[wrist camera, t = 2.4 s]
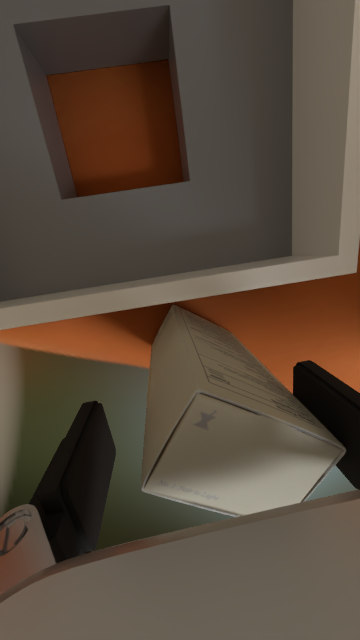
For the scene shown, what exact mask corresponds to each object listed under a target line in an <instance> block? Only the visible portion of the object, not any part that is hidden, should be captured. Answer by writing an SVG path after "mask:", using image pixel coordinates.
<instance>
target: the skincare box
mask: <svg viewBox="0 0 360 640" xmlns="http://www.w3.org/2000/svg"><path fill="white" fill-rule="evenodd" d="M345 453H346V449H345V447H344V446H343V445H342V444H341V443H340V442H339V441H338V440H337V439H336V438H335V437H334V436H333V435H332V434H331V433H330V432H329V430H328V429H327V428H326V427H325V426H324V425H322V424H321V423H320V422H319V421H318V419H317V418H316V417H315V416H314V415H313V414H312V413H311V412H310V411H309V410H308V409H307V408H306V407H305V406H304V405H303V404H302V403H301V402H300V401H299V400H298V399H297V398H296V397H295V396H294V395H293V394H292V393H291V392H290V391H289V390H288V389H287V388H286V387H285V386H284V385H283V384H282V383H281V382H280V381H279V380H278V379H277V378H276V377H275V376H274V375H273V374H272V373H271V372H270V371H269V370H268V369H267V368H266V367H265V366H264V365H263V364H262V363H261V362H260V361H259V360H258V359H257V358H256V357H255V356H254V355H253V354H252V353H251V352H250V351H249V350H248V349H247V348H246V347H245V346H244V345H243V344H242V343H241V342H240V341H239V340H238V339H237V338H236V337H235V336H234V335H233V334H232V333H231V332H229V331H227V330H225V329H223V328H221V327H220V326H218V325H216V324H214V323H212V322H210V321H208V320H206V319H203V318H201V317H199V316H197V315H195V314H193V313H191V312H189V311H187V310H185V309H182V308H180V307H178V306H176V305H172V306H171V308H170V310H169V312H168V314H167V316H166V318H165V320H164V321H163V323H162V325H161V327H160V329H159V331H158V333H157V335H156V338H155V340H154V342H153V344H152V349H151V359H150V372H149V383H148V395H147V408H146V421H145V435H144V448H143V462H142V475H141V489H142V491H143V492H146V493H150V494H154V495H156V496H160V497H163V498H166V499H170V500H174V501H178V502H181V503H185V504H188V505H192V506H196V507H199V508H204V509H207V510H210V511H215V512H219V513H222V514H225V515H230V516H234V517H239V516H244V515H248V514H252V513H257V512H261V511H266V510H270V509H274V508H279V507H283V506H288V505H292V504H296V503H301V502H305V500H306V499H307V498H308V497H309V496H310V495H311V494H312V492H313V491H314V489H316V487H317V486H318V485H319V484H320V483H321V482H322V480H323V479H324V478H325V477H326V475H327V474H328V473H329V472H330V471H331V469H332V468H333V467H334V466H335V465H336V464H337V463H338V461H339V460H340V459H341V458H342V457H343V456H344V454H345Z"/></svg>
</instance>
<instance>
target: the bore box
mask: <svg viewBox="0 0 360 640" xmlns="http://www.w3.org/2000/svg"><path fill="white" fill-rule="evenodd" d="M167 59H168V60H169V68H170V76H171V84H172V92H173V100H174V108H175V116H176V124H177V132H178V140H179V148H180V156H181V164H182V172H183V180H184V182H180V183H173V184H166V185H160V186H153V187H146V188H139V189H132V190H125V191H118V192H112V193H105V194H98V195H91V196H84V197H77V194H76V190H75V186H74V182H73V178H72V174H71V170H70V167H69V163H68V159H67V155H66V151H65V147H64V143H63V139H62V135H61V131H60V128H59V124H58V120H57V116H56V112H55V108H54V104H53V100H52V96H51V92H50V88H49V85H48V81H47V77H46V75H52V74H60V73H68V72H75V71H83V70H90V69H98V68H106V67H113V66H121V65H129V64H136V63H144V62H151V61H159V60H167ZM359 240H360V0H0V330H3V329H9V328H15V327H21V326H28V325H34V324H40V323H46V322H52V321H59V320H65V319H71V318H77V317H84V316H90V315H96V314H102V313H109V312H115V311H121V310H127V309H134V308H140V307H146V306H152V305H158V304H165V303H171V302H177V301H183V300H190V299H196V298H202V297H208V296H215V295H221V294H227V293H233V292H239V291H246V290H252V289H258V288H264V287H271V286H277V285H283V284H289V283H296V282H302V281H308V280H314V279H321V278H327V277H333V276H339V275H345V274H352V273H357V262H358V251H359Z"/></svg>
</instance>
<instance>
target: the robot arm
mask: <svg viewBox="0 0 360 640" xmlns="http://www.w3.org/2000/svg"><path fill="white" fill-rule="evenodd" d="M293 395H294V396H295V397H296V398H297V399H298V400H299V401H300V402H301V403H302V404H303V405H304V406H305V407H306V408H307V409H308V410H309V411H310V412H311V413H312V414H313V415H314V416H315V417H316V418H317V419H318V421H319V422H320V423H321V424H322V425H324V426H325V427H326V428H327V429H328V430H329V432H330V433H331V434H332V435H333V436H334V437H335V438H336V439H337V440H338V441H339V442H340V443H341V444H342V445H343V446H344V447H345V449H346V453H345V454H344V456H343V457H342V458H341V459H340V460H339V461H338V463H337V464H336V466H337V467H338V468H339V469H340V471H341V472H342V473H343V474H344V475H345V477H346V478H347V479H348V480H349V481H350V482H351V484H352V485H353V486H354V487H355V488H357V489H359V490H355V491H351V492H346V493H342V494H337V495H333V496H328V497H324V498H319V499H315V500H310V501H306V502H301V503H296V504H292V505H288V506H283V507H279V508H274V509H270V510H266V511H261V512H257V513H252V514H248V515H244V516H239V517H235V518H230V519H226V520H222V521H217V522H213V523H209V524H205V525H200V526H196V527H192V528H187V529H183V530H179V531H175V532H170V533H166V534H162V535H158V536H153V537H149V538H145V539H141V540H136V541H132V542H129V543H125V544H121V545H117V546H113V547H109V548H105V549H101V550H97V551H94V552H91V551H92V550H95V548H96V545H97V542H98V537H99V532H100V527H101V522H102V517H103V513H104V508H105V504H106V498H107V493H108V489H109V484H110V480H111V475H112V470H113V465H114V461H115V455H116V450H115V445H114V442H113V438H112V435H111V432H110V429H109V426H108V422H107V419H106V416H105V412H104V409H103V406H102V404H101V403H98V402H97V401H91V402H86V403H83V404H82V406H81V408H80V410H79V412H78V414H77V415H76V417H75V419H74V421H73V423H72V425H71V428H70V429H69V431H68V433H67V435H66V437H65V438H64V439H63V440H62V441H61V443H60V445H59V447H58V449H57V451H56V453H55V455H54V457H53V459H52V460H51V462H50V464H49V466H48V468H47V470H46V472H45V474H44V476H43V478H42V480H41V482H40V484H39V486H38V487H37V489H36V491H35V493H34V495H33V497H32V499H31V501H30V503H29V504H27V505H21V506H19V507H16V508H14V509H12V510H11V511H9V512H8V513H6V514H5V515H4V516H2V517H1V518H0V640H360V393H359V392H357V391H356V390H354V389H353V388H351V387H350V386H348V385H347V384H345V383H344V382H342V381H341V380H339V379H338V378H336V377H335V376H333V375H332V374H330V373H329V372H327V371H326V370H324V369H323V368H321V367H320V366H318V365H317V364H315V363H314V362H312V361H310V360H308V361H303V362H298V363H297V364H296V366H294V369H293Z"/></svg>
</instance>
